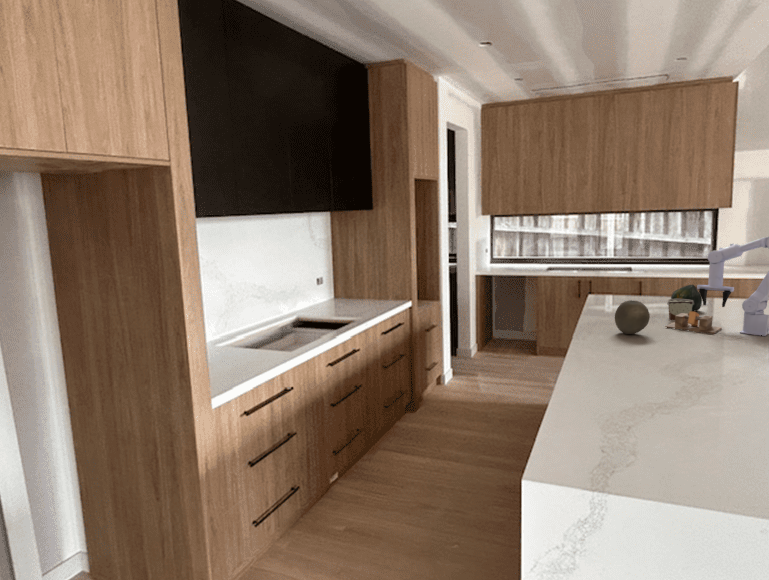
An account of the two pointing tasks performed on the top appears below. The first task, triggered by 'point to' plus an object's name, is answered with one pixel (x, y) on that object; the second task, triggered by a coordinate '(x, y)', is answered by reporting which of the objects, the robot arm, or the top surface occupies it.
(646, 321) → the cantaloupe
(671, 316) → the food container
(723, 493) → the top surface
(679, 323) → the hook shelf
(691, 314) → the orange step-cut beam
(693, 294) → the squash
